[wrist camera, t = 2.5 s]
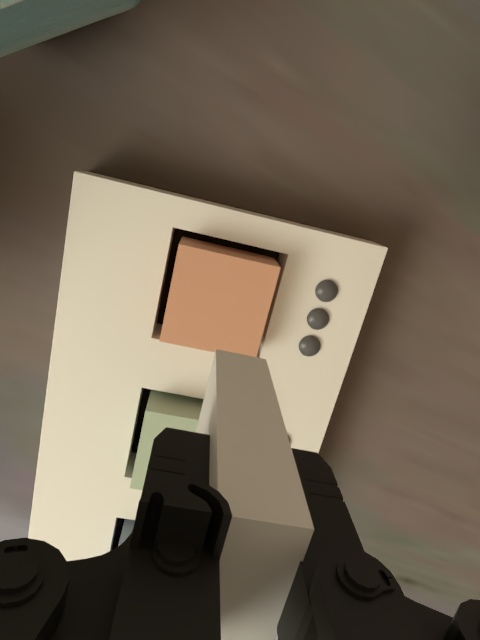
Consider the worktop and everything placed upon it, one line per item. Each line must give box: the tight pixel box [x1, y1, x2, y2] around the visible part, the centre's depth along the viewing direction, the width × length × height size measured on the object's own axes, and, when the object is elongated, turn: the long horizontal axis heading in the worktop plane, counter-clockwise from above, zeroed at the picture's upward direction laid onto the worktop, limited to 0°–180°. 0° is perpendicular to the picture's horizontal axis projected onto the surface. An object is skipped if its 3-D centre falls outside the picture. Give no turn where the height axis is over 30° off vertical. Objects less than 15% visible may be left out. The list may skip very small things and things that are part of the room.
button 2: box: [130, 389, 204, 490], centre depth 26 cm, size 5×5×3 cm
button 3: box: [159, 236, 281, 357], centre depth 23 cm, size 5×5×3 cm
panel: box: [28, 171, 388, 561], centre depth 27 cm, size 16×27×3 cm, turn 166°
